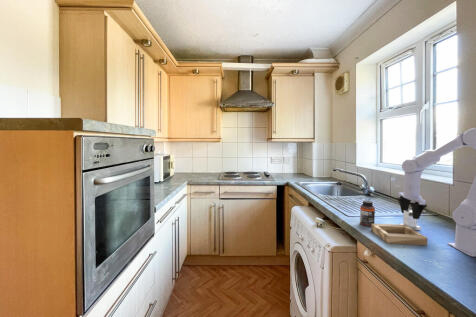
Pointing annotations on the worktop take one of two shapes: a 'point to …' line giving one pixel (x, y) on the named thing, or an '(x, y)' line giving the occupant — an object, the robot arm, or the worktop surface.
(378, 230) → the well block
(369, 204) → the supplement bottle
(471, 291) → the worktop surface
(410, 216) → the stepped metal bar
